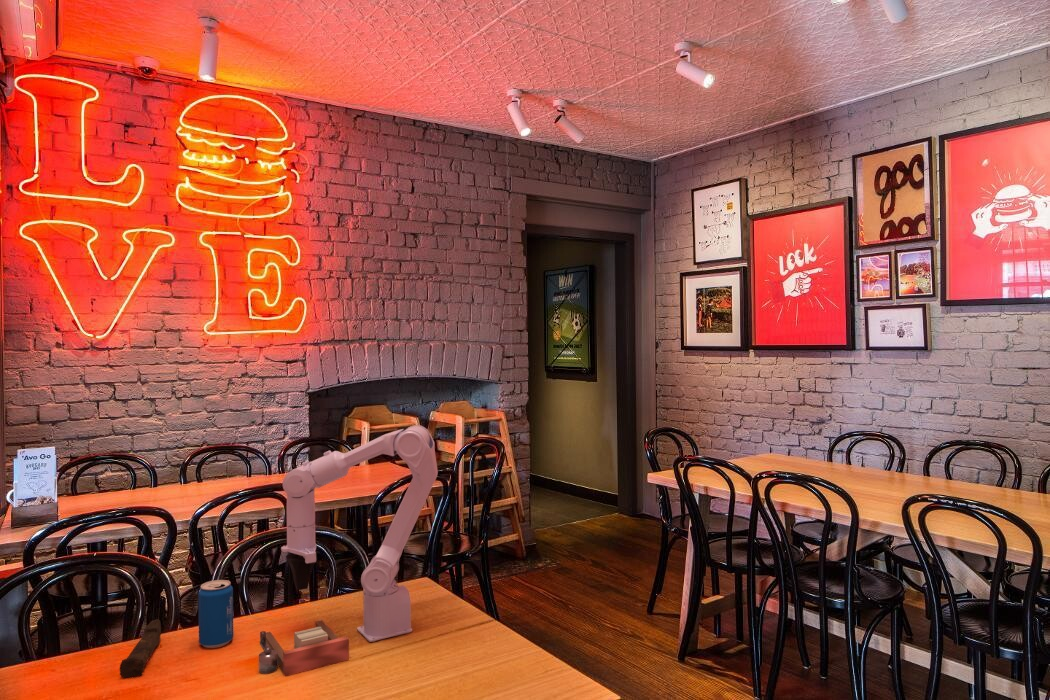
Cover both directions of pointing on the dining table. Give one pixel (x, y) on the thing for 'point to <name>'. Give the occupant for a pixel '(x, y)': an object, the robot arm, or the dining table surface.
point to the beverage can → (215, 613)
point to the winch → (267, 656)
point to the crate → (309, 637)
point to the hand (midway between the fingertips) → (301, 588)
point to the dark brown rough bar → (141, 651)
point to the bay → (311, 652)
